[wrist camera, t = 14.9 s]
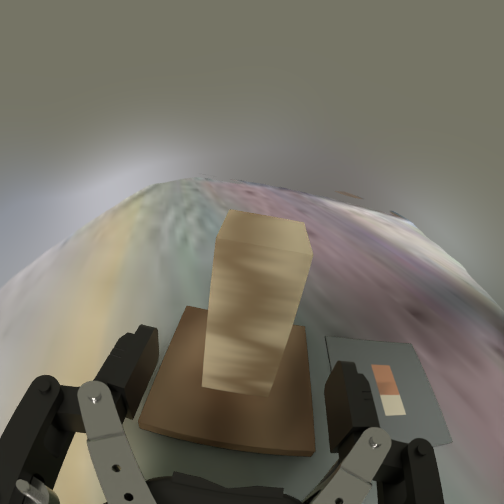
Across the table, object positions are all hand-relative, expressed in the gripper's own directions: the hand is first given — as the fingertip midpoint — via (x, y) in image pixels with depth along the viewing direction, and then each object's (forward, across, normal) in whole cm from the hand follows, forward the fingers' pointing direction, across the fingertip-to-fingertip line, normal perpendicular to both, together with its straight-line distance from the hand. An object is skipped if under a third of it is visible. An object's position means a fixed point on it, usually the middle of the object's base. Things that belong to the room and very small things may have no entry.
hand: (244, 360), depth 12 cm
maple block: (+7, 0, +8) cm, 11 cm away
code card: (+7, -14, +10) cm, 18 cm away
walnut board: (+7, 0, +10) cm, 12 cm away
